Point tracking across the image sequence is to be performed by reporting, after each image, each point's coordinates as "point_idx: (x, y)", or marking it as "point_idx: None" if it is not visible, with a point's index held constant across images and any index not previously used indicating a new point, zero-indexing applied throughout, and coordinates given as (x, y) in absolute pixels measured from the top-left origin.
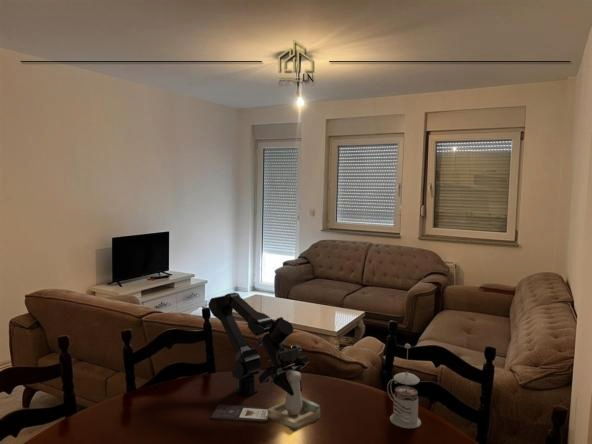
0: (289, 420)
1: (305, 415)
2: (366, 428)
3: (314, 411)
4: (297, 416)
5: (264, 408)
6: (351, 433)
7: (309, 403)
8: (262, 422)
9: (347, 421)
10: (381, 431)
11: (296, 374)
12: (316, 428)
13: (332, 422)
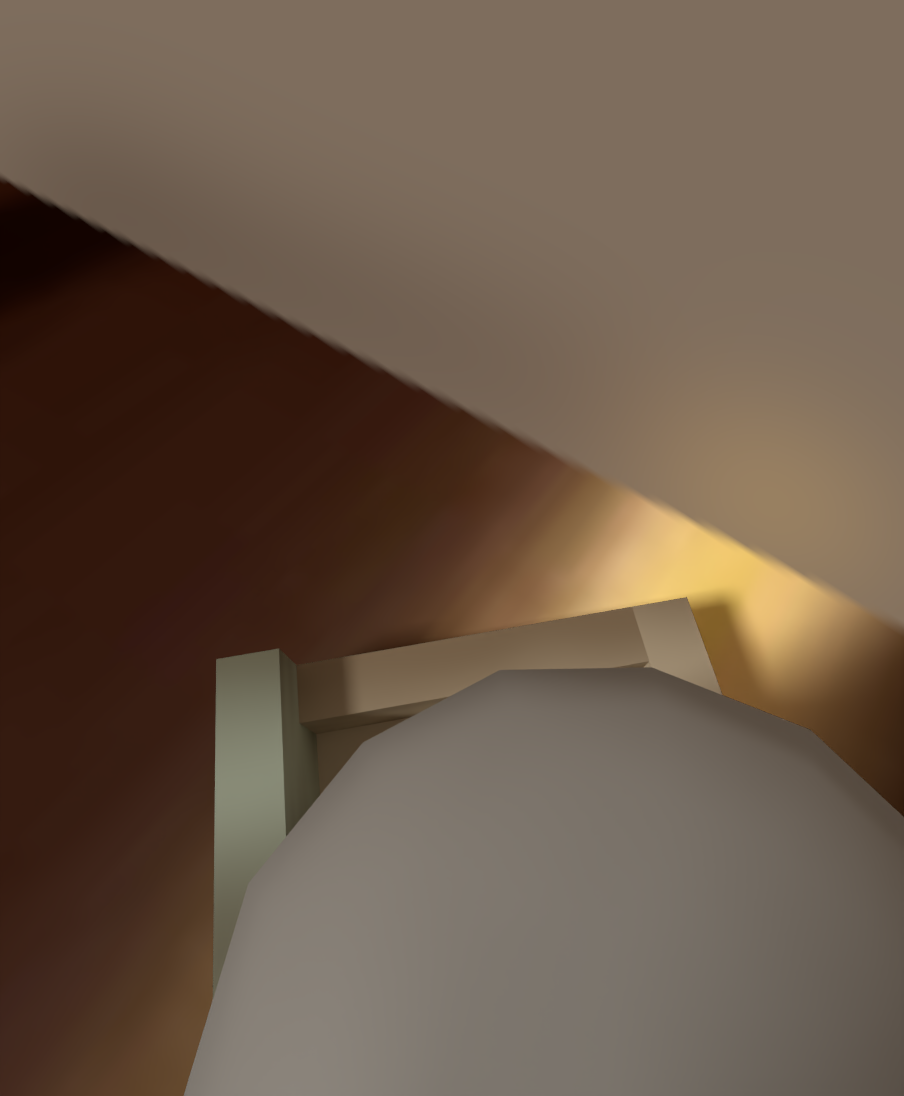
0: (706, 675)
1: (471, 665)
2: (119, 369)
3: (317, 685)
4: None
5: None
6: (262, 373)
7: (284, 797)
8: None
9: (131, 507)
10: (82, 303)
11: (652, 770)
12: (438, 557)
13: (244, 561)
